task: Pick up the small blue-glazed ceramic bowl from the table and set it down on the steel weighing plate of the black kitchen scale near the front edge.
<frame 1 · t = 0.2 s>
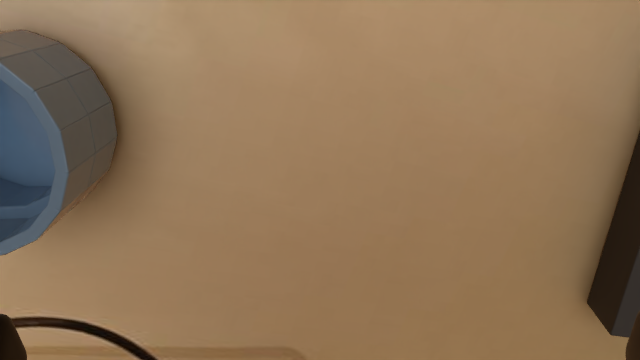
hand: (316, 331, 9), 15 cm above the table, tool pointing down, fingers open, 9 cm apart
bowl: (34, 119, 23), on the table
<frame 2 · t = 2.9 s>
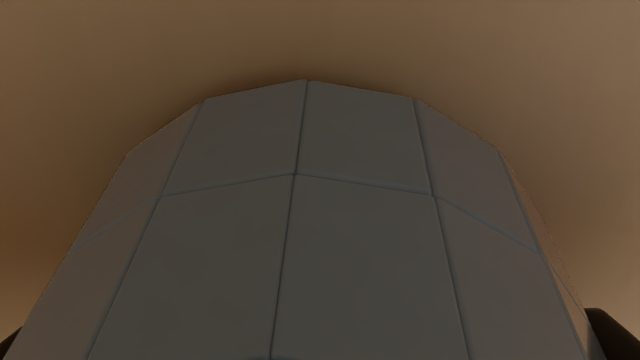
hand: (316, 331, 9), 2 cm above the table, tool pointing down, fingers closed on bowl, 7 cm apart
bowl: (318, 259, 10), on the table, touching gripper
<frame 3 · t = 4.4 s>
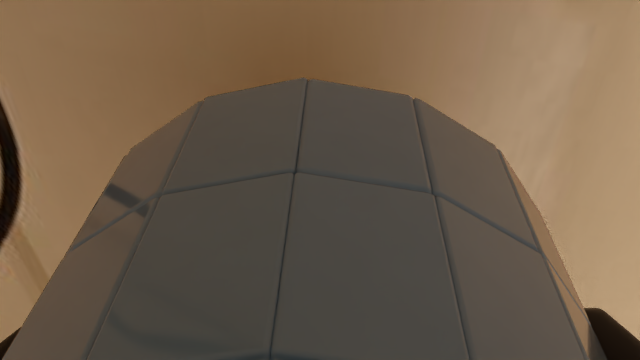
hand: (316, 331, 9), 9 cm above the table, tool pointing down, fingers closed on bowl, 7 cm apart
bowl: (318, 258, 10), point 7 cm above the table, touching gripper
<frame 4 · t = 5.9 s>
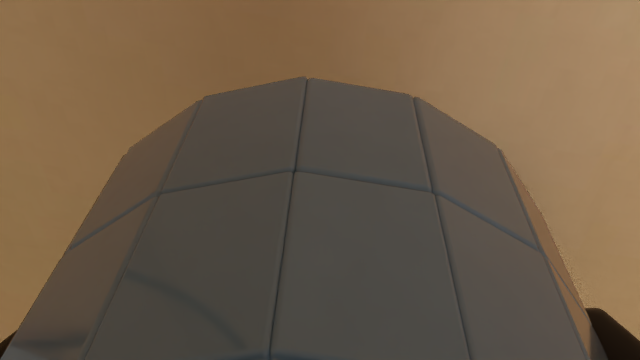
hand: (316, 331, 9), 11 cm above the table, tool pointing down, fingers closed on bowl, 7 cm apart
bowl: (318, 258, 10), point 10 cm above the table, touching gripper
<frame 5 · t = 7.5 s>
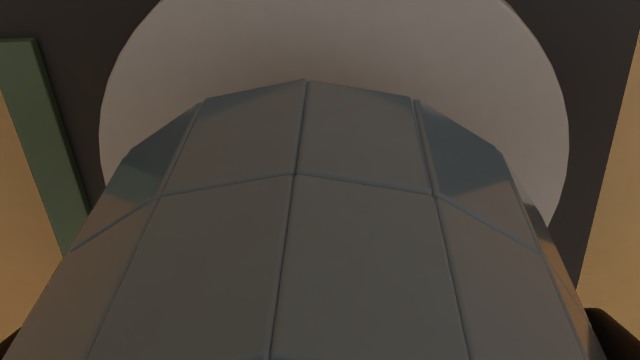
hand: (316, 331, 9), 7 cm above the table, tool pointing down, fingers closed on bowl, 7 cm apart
scale: (316, 114, 14), on the table
bowl: (318, 260, 10), point 5 cm above the table, touching gripper
when the fingers open (5 cm above the table, at t = 8.8 s): bowl stays where it is, resting on scale.
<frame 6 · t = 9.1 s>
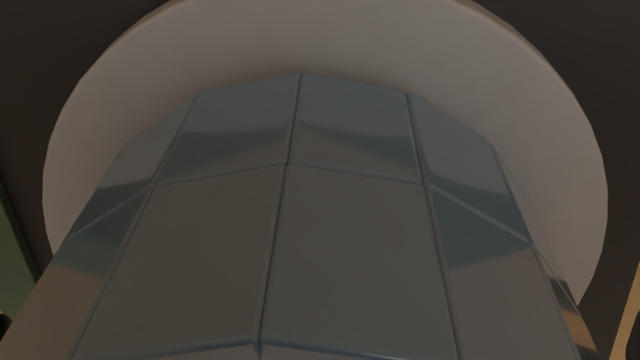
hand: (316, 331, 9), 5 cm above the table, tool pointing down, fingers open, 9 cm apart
scale: (306, 162, 13), on the table
bowl: (313, 253, 10), point 3 cm above the table, touching scale
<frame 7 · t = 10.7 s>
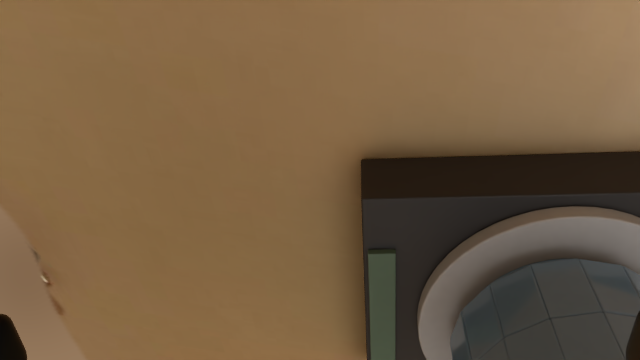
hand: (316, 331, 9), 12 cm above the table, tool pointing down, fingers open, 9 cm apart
scale: (523, 267, 23), on the table
bowl: (552, 325, 20), point 3 cm above the table, touching scale
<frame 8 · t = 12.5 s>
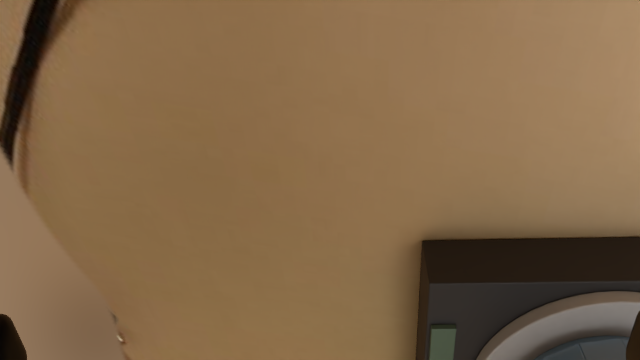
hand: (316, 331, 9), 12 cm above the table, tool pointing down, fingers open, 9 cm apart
scale: (560, 330, 25), on the table
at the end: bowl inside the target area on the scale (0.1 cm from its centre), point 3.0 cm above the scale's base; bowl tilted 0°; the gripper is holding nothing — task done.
